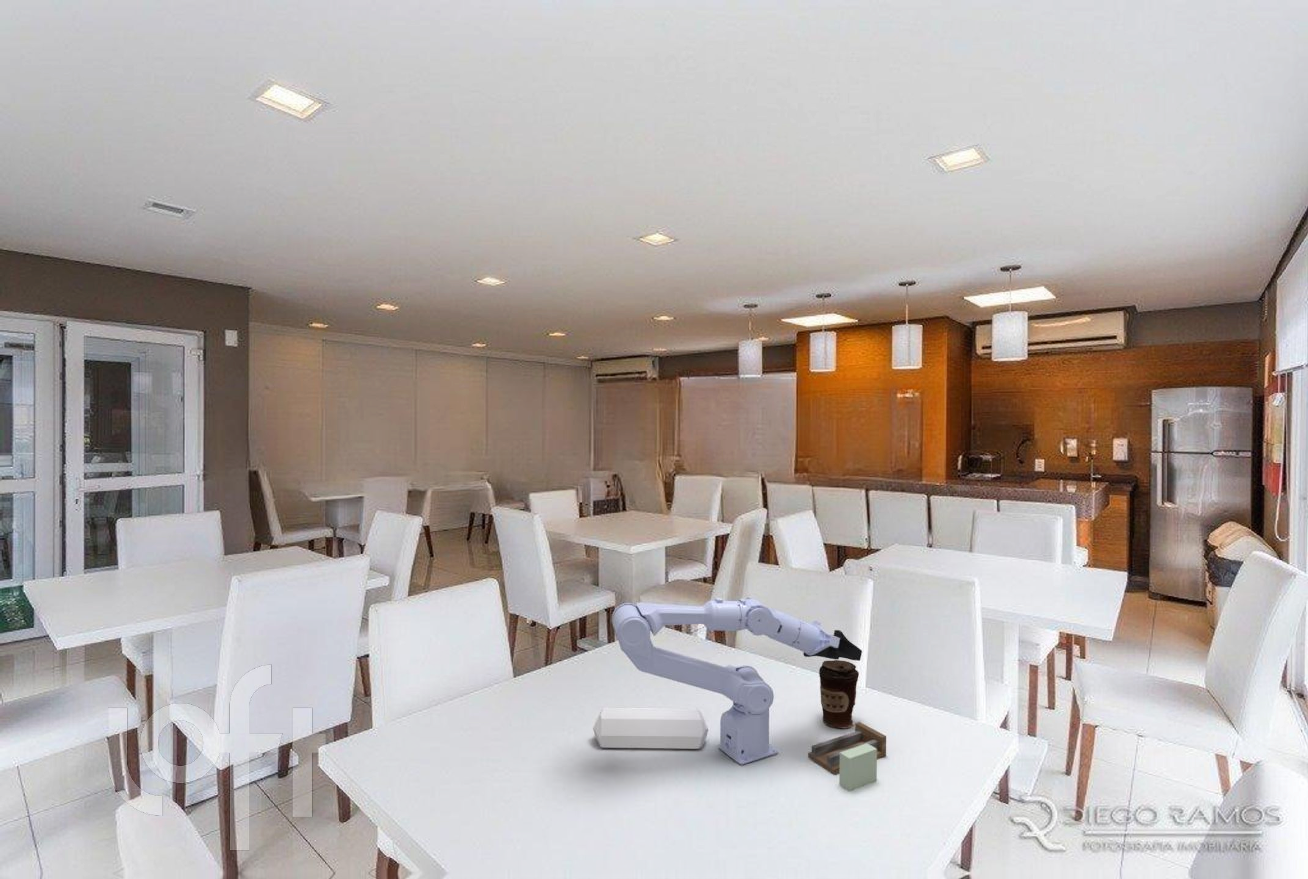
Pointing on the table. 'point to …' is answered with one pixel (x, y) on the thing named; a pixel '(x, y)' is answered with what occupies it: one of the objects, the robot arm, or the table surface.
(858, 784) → the door panel
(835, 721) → the coffee cup
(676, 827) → the table surface
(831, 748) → the track sill
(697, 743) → the crystal
